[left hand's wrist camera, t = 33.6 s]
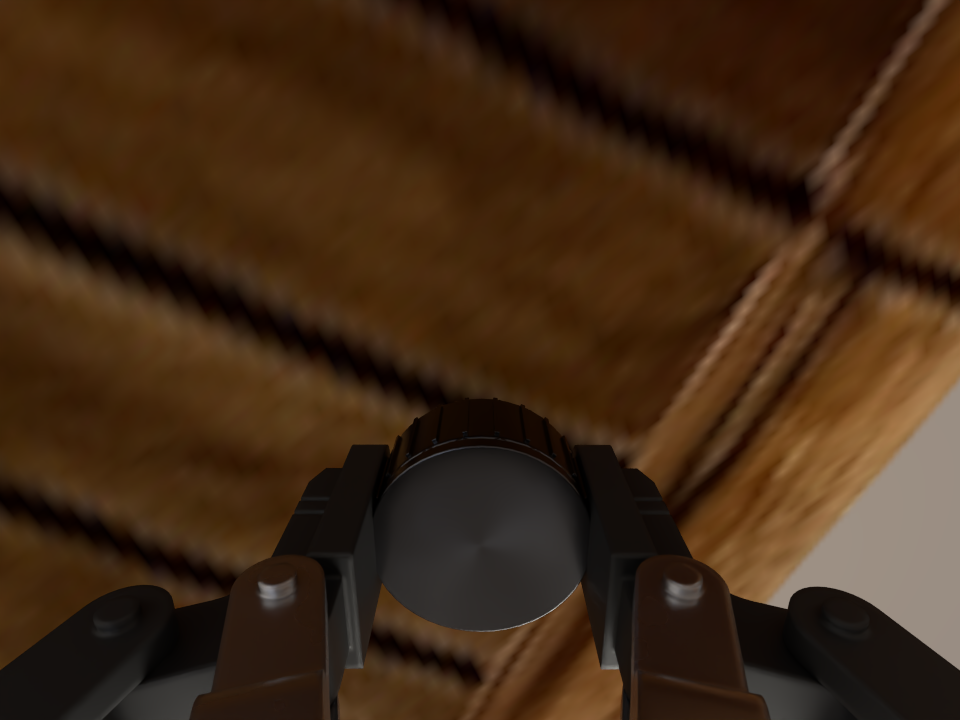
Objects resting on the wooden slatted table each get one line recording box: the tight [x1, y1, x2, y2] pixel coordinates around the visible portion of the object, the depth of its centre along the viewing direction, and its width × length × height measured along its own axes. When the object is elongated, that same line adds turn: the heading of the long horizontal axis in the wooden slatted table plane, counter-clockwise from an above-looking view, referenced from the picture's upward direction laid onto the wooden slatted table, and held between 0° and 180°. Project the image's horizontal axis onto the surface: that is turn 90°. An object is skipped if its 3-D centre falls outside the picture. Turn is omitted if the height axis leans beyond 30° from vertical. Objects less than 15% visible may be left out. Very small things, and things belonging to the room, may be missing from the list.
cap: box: [373, 398, 591, 632], centre depth 11 cm, size 4×4×2 cm
